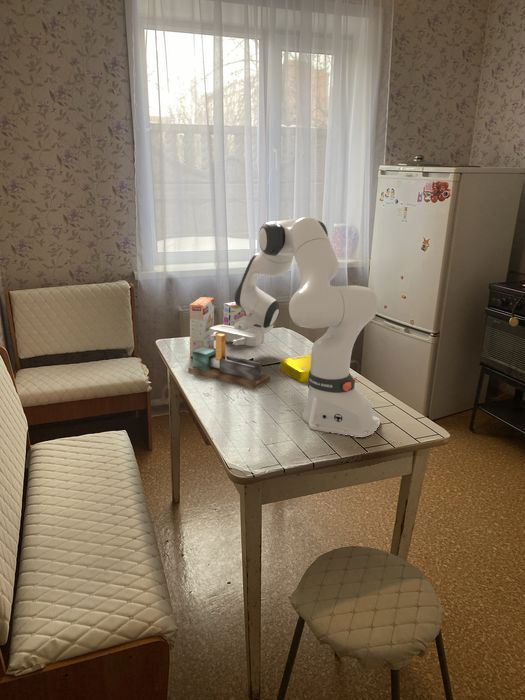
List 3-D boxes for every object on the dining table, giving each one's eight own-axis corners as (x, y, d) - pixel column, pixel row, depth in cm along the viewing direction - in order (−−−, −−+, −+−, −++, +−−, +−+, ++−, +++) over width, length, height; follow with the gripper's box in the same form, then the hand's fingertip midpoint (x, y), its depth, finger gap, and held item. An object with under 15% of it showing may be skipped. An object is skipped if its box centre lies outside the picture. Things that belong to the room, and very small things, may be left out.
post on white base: (232, 368, 184) (232, 335, 180) (227, 370, 182) (227, 337, 178) (205, 361, 190) (204, 329, 186) (200, 363, 188) (199, 331, 184)
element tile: (311, 364, 199) (311, 352, 197) (336, 376, 187) (337, 364, 185) (278, 370, 191) (278, 358, 190) (302, 384, 179) (302, 371, 178)
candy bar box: (229, 344, 218) (229, 305, 213) (222, 341, 222) (222, 303, 217) (250, 339, 225) (251, 302, 220) (243, 336, 229) (244, 299, 223)
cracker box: (204, 358, 200) (203, 305, 194) (189, 357, 201) (188, 304, 195) (215, 347, 213) (214, 297, 207) (200, 346, 214) (200, 296, 208)
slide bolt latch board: (269, 379, 181) (270, 359, 179) (254, 389, 173) (254, 367, 171) (205, 363, 195) (205, 344, 192) (188, 371, 187) (187, 351, 184)
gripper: (221, 318, 199) (199, 326, 188) (268, 327, 189) (247, 337, 178) (221, 334, 201) (199, 343, 190) (267, 344, 191) (246, 354, 180)
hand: (223, 340), depth 184 cm, fingers open, 8 cm apart
